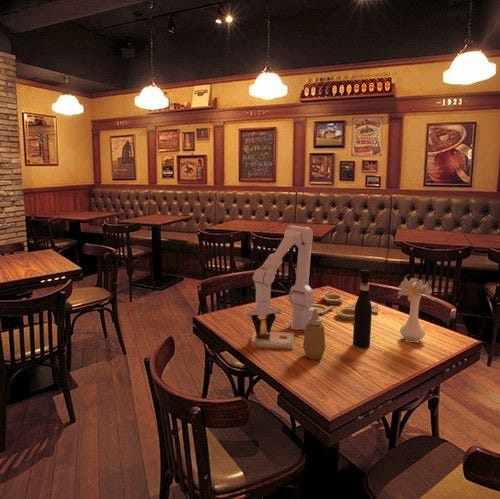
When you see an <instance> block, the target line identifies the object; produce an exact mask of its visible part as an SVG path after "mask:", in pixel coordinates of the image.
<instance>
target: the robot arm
mask: <svg viewBox="0 0 500 499" xmlns="http://www.w3.org/2000/svg"><path fill="white" fill-rule="evenodd" d="M283 235H284V236H283V238H282V240H281V242H280V244H279V245H278V247H277V249H276V250H275V252H274V253H270V254H269V255H268V257H267V258H266V260H265V261H264V262H263V264H262V265H261V266H260V267H259V268H257V269H255V270H254V272H253V275H252V281H253V282H254V287H255V308H254V309H249V310H244V311H243V312H244V317H245V318H248V317H250V318H251V321H252V323H253V326H254V329H255V330H254V331H256V334H259V320H260V319H259V317H261V316H266V318H268V333H270V332H271V329H272V326H273V324H274V322H275V320H276V319H277V316H276V315H282V309H281V308H280V307H271V305H272V304H271V297H272V296H271V295H272V294H271V292H272V290H271V289H272V284H273V282H274V280H275V276H276V272H277V271H278V269H279V268H280V266H281V265H282V264H283V257H285V255H286V254H287V253H288V251H289V250H290V249H291V248H292V247H293V246H294V245H295V246H296V247H297V248H298V250H297V260H296V261H297V262H296V275H295V276H296V277H295V284H293V286H291V287H290V290H289V293H288V303H289V304H291V305H290V306H291V307H292V309H291V310H292V316H291V318H292V321H291V324H290V329H291V330H302V331H305V328H306V325H307V324H308V323H309V318H310V317H312V315H313V311H314V308H313V307H311V306H312V305H313V304H315V303H314V302H315V295H314V290H313V289H312V287H311V286H310V285H309V279H310V268H311V258H312V257H311V255H312V254H311V253H312V246H313V240H314V239H313V237H314V232H313V230H312V229H311V228H310V227H309V226H299V225H293V224H289V225H288V226H287V227H286V229H285V230H284V232H283Z"/></svg>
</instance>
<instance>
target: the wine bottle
mask: <svg viewBox="0 0 500 499" xmlns="http://www.w3.org/2000/svg"><path fill="white" fill-rule="evenodd" d="M371 273H372V272H371V269H369V268H361V269H359V279H361V282H360V285H359V290H358V298H357V300H356V306H355V312H354V320H353V333H352V334H353V335H352V346H353V345H354V346H353V347H355V346H356V347H355V348H357V347H359V348H358V349H361V348H365V349H368V348H367V347H369V346H370V347H371V335H372V334H371V332H372V314H373V313H372V307H371V305H372V303H371V302H372V301H371V298H370V288H369V287H370V285H369V280H371V275H372V274H371ZM370 347H369V348H370Z"/></svg>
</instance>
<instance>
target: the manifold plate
mask: <svg viewBox="0 0 500 499" xmlns="http://www.w3.org/2000/svg"><path fill="white" fill-rule="evenodd" d="M294 342H295V333H294V332H282V331H281V332H280V331H270V333H268V339H258V334H256V330H254V331H253V333H252V336H251V339H250V347H251V348H265V349H267V348H268V349H280V350H281V349H282V350H293V349H294Z"/></svg>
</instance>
